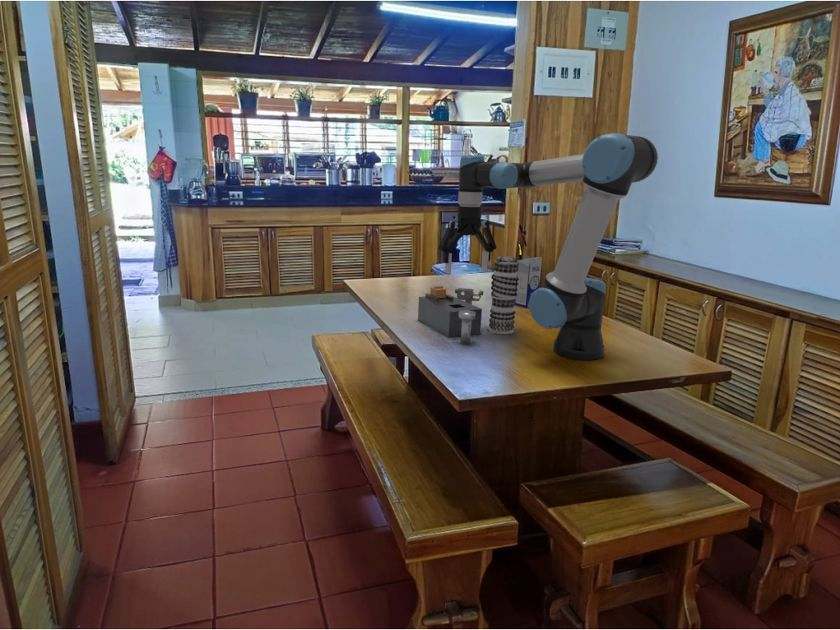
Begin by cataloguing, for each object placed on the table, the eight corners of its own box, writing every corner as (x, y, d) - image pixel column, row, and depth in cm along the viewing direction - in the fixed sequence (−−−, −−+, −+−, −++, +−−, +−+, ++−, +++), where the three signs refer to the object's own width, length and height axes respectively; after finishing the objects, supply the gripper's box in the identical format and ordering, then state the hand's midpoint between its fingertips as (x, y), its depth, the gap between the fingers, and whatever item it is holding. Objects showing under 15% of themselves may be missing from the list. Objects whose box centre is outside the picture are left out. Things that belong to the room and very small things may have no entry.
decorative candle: (484, 332, 195) (489, 258, 189) (491, 325, 203) (496, 254, 197) (511, 335, 192) (517, 260, 185) (517, 328, 200) (523, 256, 194)
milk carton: (526, 308, 229) (531, 258, 224) (513, 304, 234) (517, 255, 229) (537, 306, 233) (542, 256, 228) (524, 302, 238) (528, 254, 233)
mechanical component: (481, 318, 212) (482, 291, 209) (453, 315, 214) (454, 289, 211) (482, 316, 215) (483, 289, 212) (454, 313, 217) (455, 287, 214)
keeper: (445, 297, 203) (446, 287, 202) (435, 298, 201) (436, 288, 201) (440, 295, 207) (440, 285, 206) (430, 295, 205) (430, 285, 204)
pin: (476, 344, 181) (478, 313, 179) (462, 346, 179) (464, 315, 176) (468, 340, 186) (470, 309, 183) (454, 341, 183) (455, 311, 181)
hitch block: (480, 333, 193) (482, 306, 190) (448, 337, 187) (450, 309, 185) (447, 317, 212) (448, 291, 209) (417, 320, 206) (418, 294, 204)
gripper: (497, 204, 192) (493, 268, 197) (429, 204, 182) (426, 272, 187) (509, 206, 185) (505, 272, 191) (439, 206, 175) (437, 276, 180)
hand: (466, 272), depth 189 cm, fingers open, 13 cm apart
